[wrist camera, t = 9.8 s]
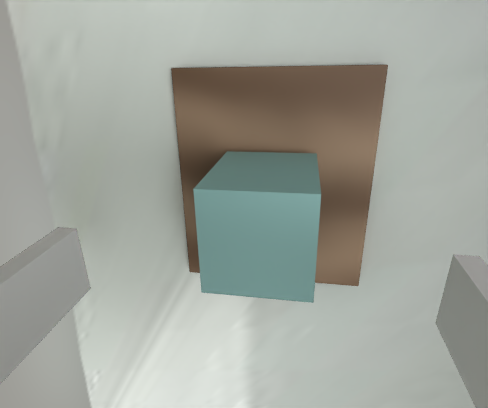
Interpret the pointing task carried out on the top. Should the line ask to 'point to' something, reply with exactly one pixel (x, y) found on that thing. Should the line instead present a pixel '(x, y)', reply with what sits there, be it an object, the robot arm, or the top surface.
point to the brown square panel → (288, 141)
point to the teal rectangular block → (259, 225)
